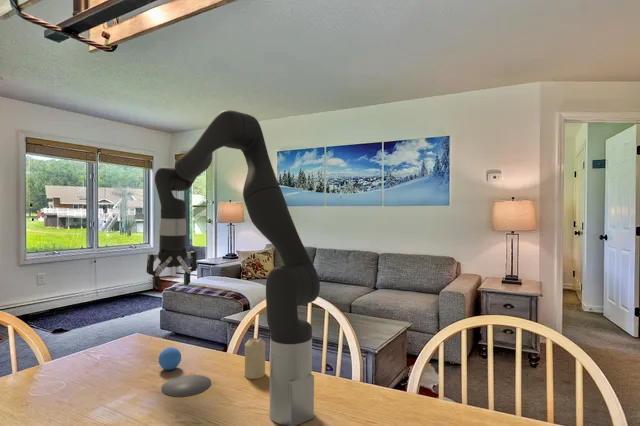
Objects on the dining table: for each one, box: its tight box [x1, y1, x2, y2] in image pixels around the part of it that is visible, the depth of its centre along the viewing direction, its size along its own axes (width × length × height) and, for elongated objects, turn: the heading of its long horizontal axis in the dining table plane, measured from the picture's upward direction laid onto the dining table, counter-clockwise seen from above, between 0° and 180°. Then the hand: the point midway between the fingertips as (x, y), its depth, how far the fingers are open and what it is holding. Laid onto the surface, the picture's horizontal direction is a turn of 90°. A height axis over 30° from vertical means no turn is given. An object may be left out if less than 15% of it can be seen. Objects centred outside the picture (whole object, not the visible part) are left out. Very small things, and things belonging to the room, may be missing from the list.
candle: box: [244, 337, 266, 380], centre depth 108 cm, size 6×6×10 cm
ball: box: [158, 346, 182, 371], centre depth 111 cm, size 6×6×6 cm
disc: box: [161, 374, 212, 398], centre depth 101 cm, size 12×12×1 cm
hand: (172, 286), depth 120 cm, fingers open, 8 cm apart
